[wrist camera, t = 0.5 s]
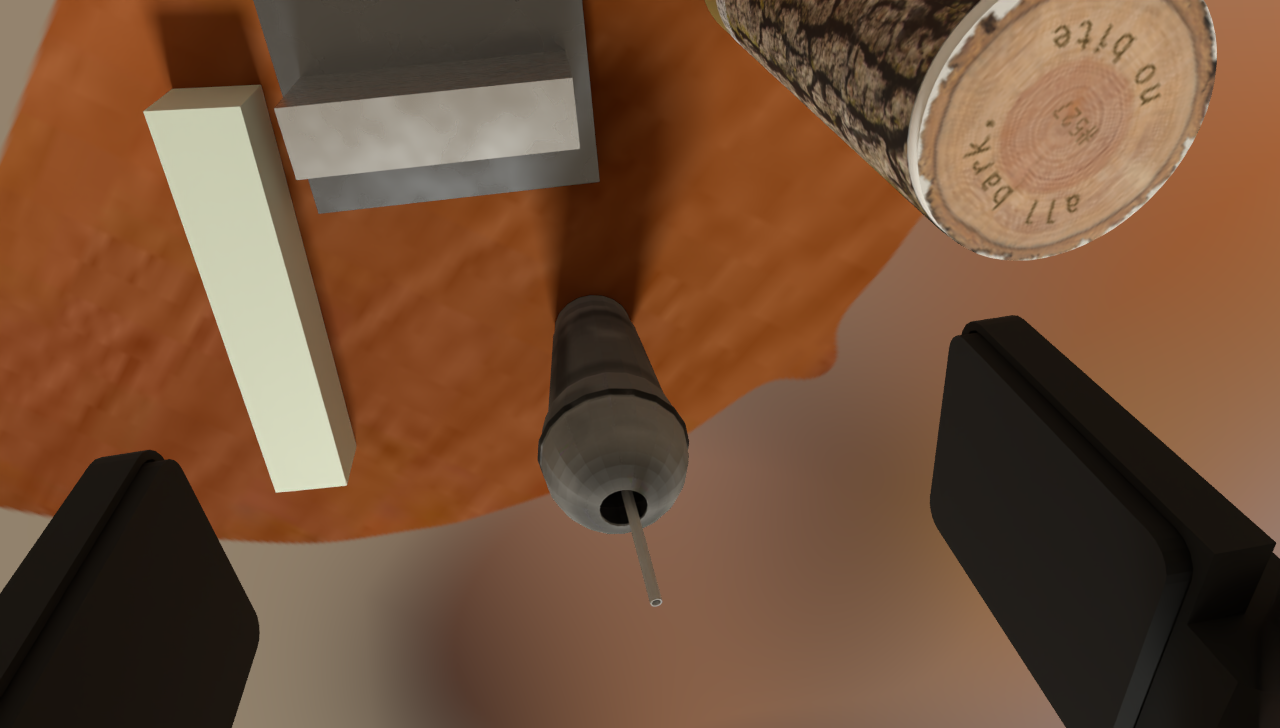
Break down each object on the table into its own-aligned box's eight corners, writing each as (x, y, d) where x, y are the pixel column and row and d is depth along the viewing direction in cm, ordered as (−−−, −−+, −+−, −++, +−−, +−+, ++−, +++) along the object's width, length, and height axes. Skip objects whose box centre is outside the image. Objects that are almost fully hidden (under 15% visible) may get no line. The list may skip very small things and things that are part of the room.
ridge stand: (263, -13, 36) (217, 17, 30) (575, -42, 37) (587, -18, 32) (326, 198, 42) (297, 257, 36) (596, 168, 43) (610, 221, 37)
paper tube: (765, 68, 41) (1025, 310, 21) (666, -25, 38) (854, 149, 18) (864, -47, 39) (1269, 96, 18) (766, -155, 36) (1119, -133, 15)
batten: (174, 87, 38) (143, 111, 35) (262, 82, 39) (240, 106, 35) (291, 449, 50) (275, 492, 47) (357, 442, 51) (346, 485, 48)
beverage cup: (600, 249, 46) (654, 489, 29) (677, 331, 49) (764, 585, 33) (505, 325, 47) (504, 593, 31) (586, 399, 51) (624, 673, 34)
